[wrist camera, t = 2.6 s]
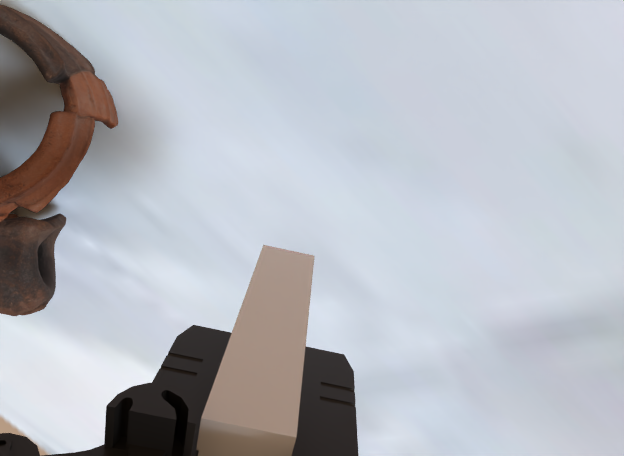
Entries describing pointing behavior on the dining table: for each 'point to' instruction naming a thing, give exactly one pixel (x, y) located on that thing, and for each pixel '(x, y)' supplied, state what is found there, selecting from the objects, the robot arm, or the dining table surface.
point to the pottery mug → (45, 164)
